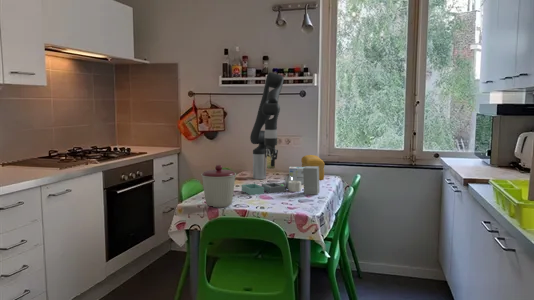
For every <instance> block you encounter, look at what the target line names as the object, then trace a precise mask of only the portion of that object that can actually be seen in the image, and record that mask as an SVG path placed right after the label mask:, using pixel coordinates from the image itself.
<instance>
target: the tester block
mask: <svg viewBox="0 0 534 300" xmlns="http://www.w3.org/2000/svg"><path fill="white" fill-rule="evenodd" d="M261 187H263V188H264V192H266V193H268V194H278V193H285V192H286V189H285V184H282V183H278V182H268V183H261Z"/></svg>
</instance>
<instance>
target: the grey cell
mask: <svg viewBox="0 0 534 300" xmlns="http://www.w3.org/2000/svg"><path fill="white" fill-rule="evenodd" d="M284 181H285V182H284V186H285V190H288V182H289V181H293V177H290V176H289V175H288V176H284Z"/></svg>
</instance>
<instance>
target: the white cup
mask: <svg viewBox="0 0 534 300" xmlns="http://www.w3.org/2000/svg"><path fill="white" fill-rule="evenodd" d="M287 190H288V191H289V192H290V193H291V192H292V193H299V192H301V191H302V184H301V182H300V181H289V182H288V189H287Z"/></svg>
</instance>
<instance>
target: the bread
mask: <svg viewBox="0 0 534 300" xmlns="http://www.w3.org/2000/svg"><path fill="white" fill-rule="evenodd" d="M306 166H312V167H319V181H324V179H325V162H324V160H323V159H321V157H319V156H318V155H316V154H315V155H314V154H307V155H304V156H302V157H301V167H306Z"/></svg>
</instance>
